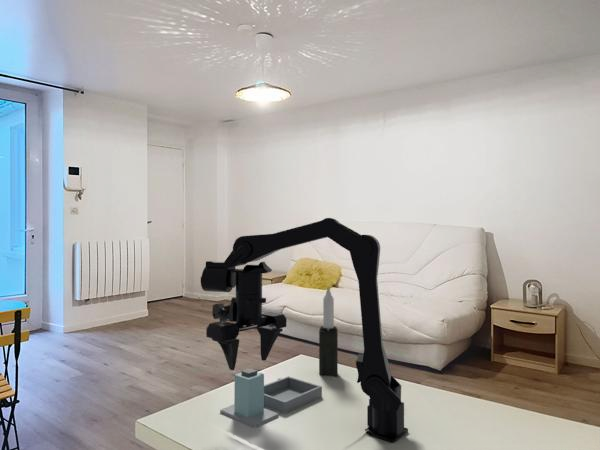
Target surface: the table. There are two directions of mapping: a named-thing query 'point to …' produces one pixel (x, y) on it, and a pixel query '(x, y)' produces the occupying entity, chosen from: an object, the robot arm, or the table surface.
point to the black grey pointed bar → (328, 339)
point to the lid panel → (250, 421)
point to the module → (249, 393)
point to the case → (290, 394)
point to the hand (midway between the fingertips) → (248, 364)
